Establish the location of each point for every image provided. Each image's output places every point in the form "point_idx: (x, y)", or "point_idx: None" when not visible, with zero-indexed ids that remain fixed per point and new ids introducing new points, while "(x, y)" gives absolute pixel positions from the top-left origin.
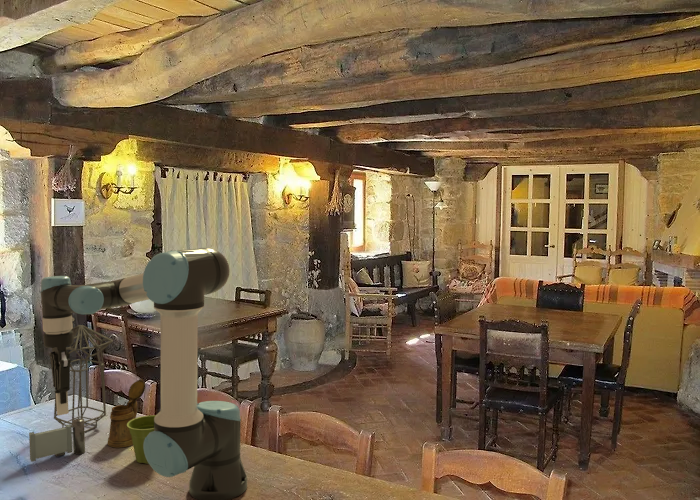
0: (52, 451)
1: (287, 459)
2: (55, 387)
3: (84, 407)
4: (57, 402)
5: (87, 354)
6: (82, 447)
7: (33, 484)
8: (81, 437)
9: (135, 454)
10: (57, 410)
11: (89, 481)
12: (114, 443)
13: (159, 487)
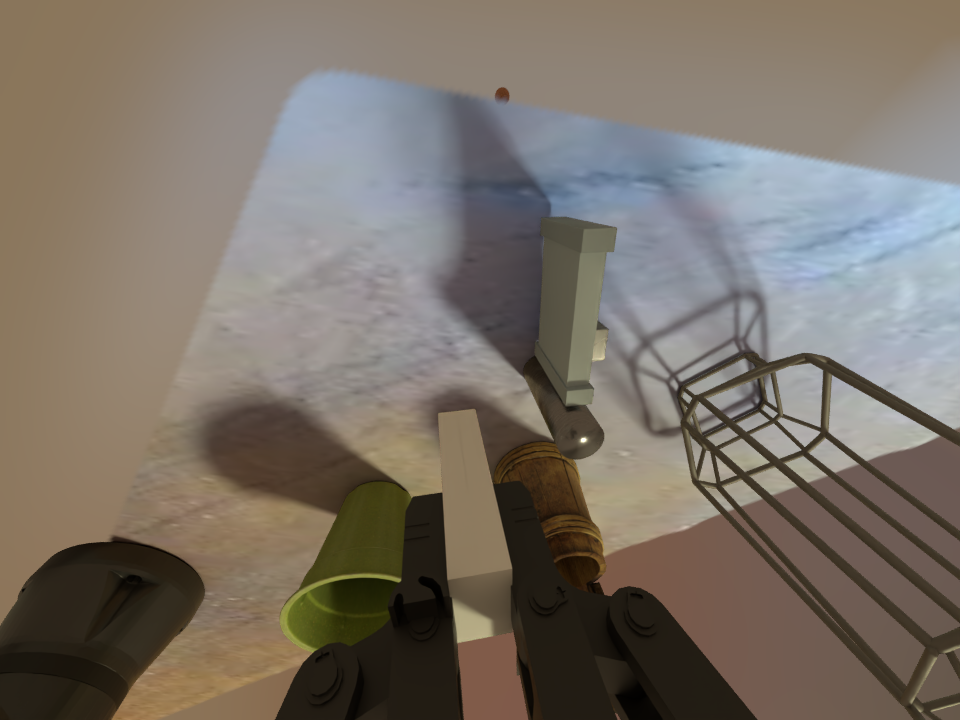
0: (544, 299)
1: (243, 678)
2: (558, 615)
3: (808, 446)
4: (448, 483)
5: None
6: (529, 387)
7: (353, 192)
8: (538, 405)
9: (369, 496)
10: (458, 431)
11: (294, 360)
12: (513, 460)
13: (177, 497)
